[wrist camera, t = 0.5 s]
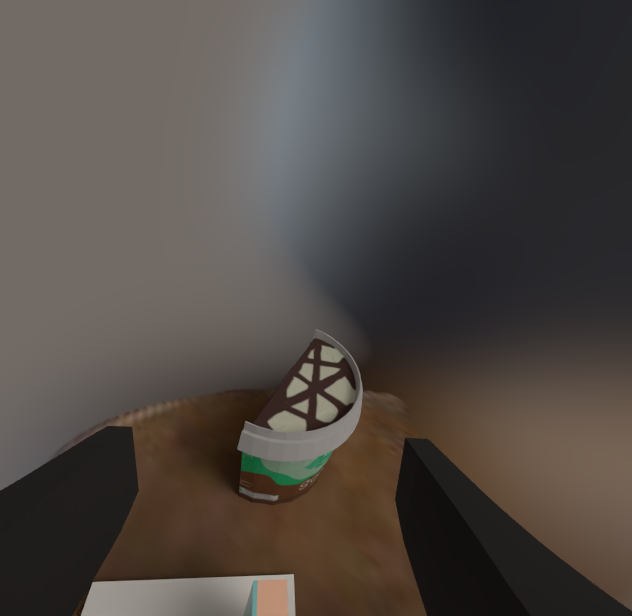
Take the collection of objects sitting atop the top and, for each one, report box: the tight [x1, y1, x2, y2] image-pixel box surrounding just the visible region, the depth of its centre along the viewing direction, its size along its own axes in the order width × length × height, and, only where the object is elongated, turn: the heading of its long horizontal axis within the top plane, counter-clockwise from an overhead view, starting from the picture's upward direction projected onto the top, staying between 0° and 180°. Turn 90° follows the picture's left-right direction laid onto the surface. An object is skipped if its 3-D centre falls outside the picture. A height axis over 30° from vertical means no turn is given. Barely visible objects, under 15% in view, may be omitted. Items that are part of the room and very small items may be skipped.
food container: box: [237, 329, 363, 505], centre depth 27 cm, size 12×6×10 cm, turn 157°
